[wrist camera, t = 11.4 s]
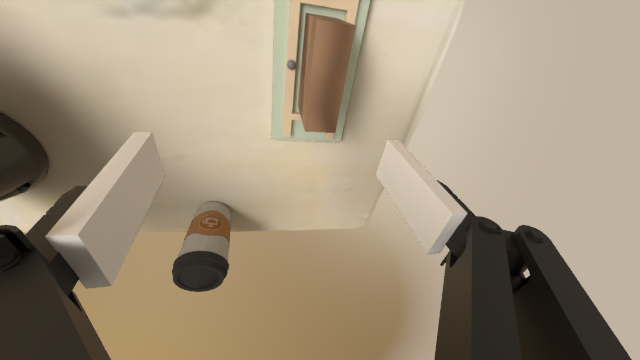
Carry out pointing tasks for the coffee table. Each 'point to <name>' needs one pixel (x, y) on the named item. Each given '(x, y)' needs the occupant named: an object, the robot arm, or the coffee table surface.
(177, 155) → the coffee table surface
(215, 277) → the coffee cup
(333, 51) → the brown wooden picture frame
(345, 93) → the mint cabinet door
